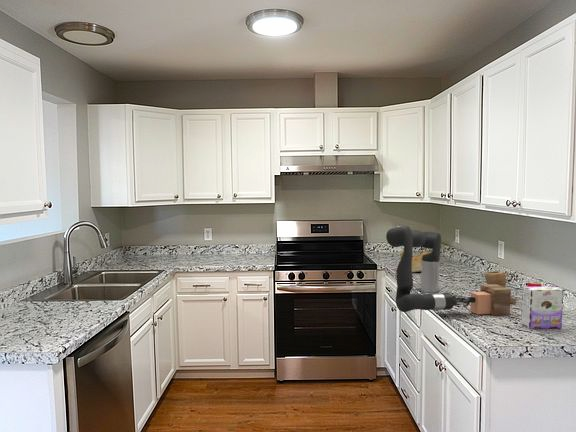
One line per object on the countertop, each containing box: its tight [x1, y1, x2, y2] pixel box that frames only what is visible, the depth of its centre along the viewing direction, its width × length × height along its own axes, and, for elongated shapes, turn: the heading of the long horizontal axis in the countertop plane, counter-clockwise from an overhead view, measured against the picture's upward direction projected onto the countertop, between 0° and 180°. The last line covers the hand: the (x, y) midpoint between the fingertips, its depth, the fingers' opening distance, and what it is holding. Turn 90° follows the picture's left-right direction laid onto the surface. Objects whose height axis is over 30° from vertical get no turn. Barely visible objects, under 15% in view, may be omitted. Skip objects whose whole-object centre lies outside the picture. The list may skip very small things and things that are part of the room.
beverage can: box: [526, 280, 543, 287], centre depth 193 cm, size 6×6×12 cm
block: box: [469, 291, 492, 315], centre depth 182 cm, size 5×16×9 cm, turn 102°
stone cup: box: [484, 270, 518, 304], centre depth 204 cm, size 15×12×15 cm
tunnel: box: [479, 283, 512, 317], centre depth 183 cm, size 10×8×12 cm
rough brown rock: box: [400, 250, 432, 273], centre depth 274 cm, size 23×17×15 cm
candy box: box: [520, 286, 564, 329], centre depth 164 cm, size 14×6×16 cm, turn 92°
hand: (474, 299), depth 180 cm, fingers closed
